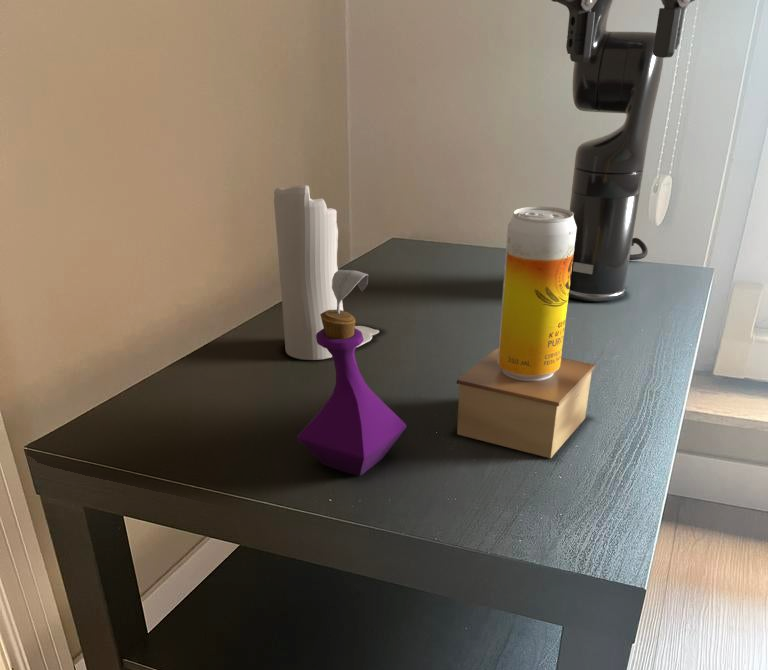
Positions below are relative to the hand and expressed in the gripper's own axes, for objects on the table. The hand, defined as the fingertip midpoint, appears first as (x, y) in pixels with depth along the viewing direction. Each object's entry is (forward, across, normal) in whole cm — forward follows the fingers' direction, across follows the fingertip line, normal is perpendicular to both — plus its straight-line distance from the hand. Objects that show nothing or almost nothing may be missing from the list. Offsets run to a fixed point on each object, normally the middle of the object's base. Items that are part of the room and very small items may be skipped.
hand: (621, 59), depth 71 cm
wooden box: (+32, +10, +6) cm, 34 cm away
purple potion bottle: (+32, +28, +7) cm, 43 cm away
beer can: (+26, +10, +5) cm, 29 cm away
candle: (+33, +22, -24) cm, 46 cm away
